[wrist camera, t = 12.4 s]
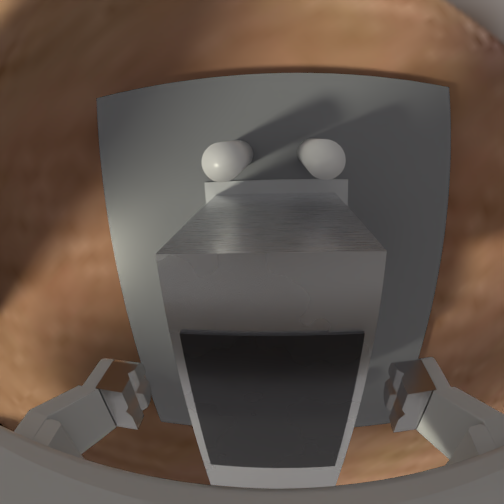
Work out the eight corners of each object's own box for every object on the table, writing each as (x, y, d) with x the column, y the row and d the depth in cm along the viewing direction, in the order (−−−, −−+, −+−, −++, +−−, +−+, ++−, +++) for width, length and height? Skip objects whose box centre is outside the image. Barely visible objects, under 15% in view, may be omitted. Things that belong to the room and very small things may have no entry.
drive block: (232, 378, 17) (210, 486, 10) (215, 195, 13) (153, 256, 7) (323, 377, 16) (335, 488, 10) (334, 192, 13) (388, 252, 6)
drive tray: (165, 409, 20) (144, 465, 15) (108, 99, 13) (42, 93, 9) (392, 410, 19) (409, 467, 14) (437, 89, 12) (499, 77, 7)
